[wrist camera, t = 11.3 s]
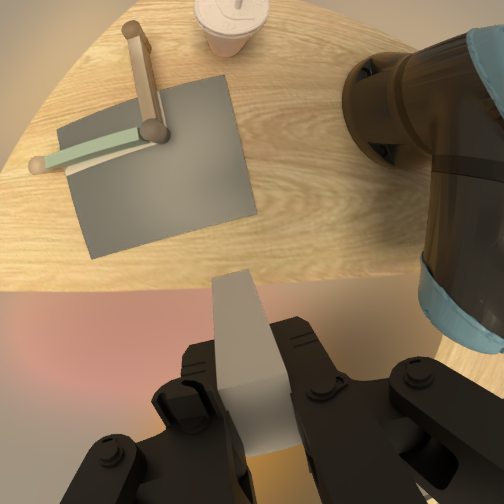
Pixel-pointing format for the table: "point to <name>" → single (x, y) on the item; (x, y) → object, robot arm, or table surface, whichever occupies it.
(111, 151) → the gate panel
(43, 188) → the table surface
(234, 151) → the card
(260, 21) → the smoothie
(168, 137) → the base
